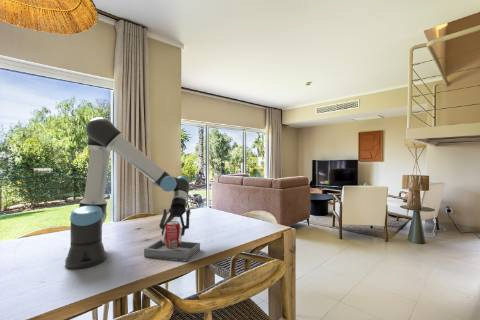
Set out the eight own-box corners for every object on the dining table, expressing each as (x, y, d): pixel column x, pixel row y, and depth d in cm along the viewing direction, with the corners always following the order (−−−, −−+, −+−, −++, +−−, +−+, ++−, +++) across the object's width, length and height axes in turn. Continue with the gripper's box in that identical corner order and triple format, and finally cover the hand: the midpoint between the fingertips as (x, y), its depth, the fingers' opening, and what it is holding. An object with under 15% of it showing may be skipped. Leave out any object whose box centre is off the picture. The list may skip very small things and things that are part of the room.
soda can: (174, 243, 121) (174, 220, 121) (183, 247, 116) (183, 222, 116) (162, 247, 115) (162, 222, 115) (171, 251, 111) (171, 225, 111)
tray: (144, 256, 111) (144, 248, 111) (160, 246, 125) (160, 239, 125) (187, 261, 106) (187, 253, 106) (200, 249, 120) (200, 242, 120)
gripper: (198, 205, 131) (193, 245, 115) (162, 205, 131) (151, 245, 115) (197, 196, 126) (191, 237, 110) (159, 196, 126) (148, 238, 109)
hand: (171, 241), depth 112 cm, fingers closed on soda can, 7 cm apart
